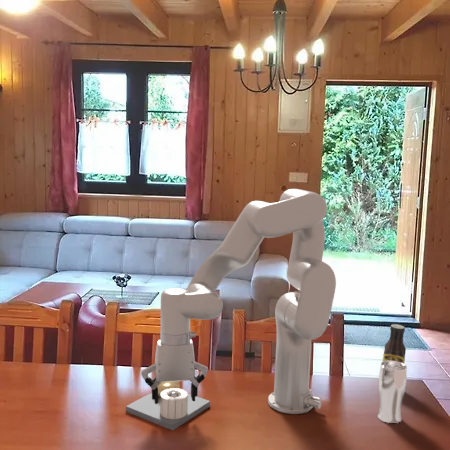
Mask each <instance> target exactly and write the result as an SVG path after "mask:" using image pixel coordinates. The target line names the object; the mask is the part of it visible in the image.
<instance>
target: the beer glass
mask: <svg viewBox="0 0 450 450" xmlns="http://www.w3.org/2000/svg"><path fill="white" fill-rule="evenodd" d="M407 368H408V367H407V365H406V364H405V363H404V364H403V363H401V362H398V361H393V360H386V361H383V360H382V361H381V362H380V368H379V373H378V375H379V376H378V391H379V399H380V401H379V403H380V404H379V409H378V413H377V418H378V419H379V420H380V421H381V422H383V423H385V422H386V424H389V423H397V424H399V422H400V423H401V422H402V414H401V413H402V411H401V410H402V409H401V408H402V403H403V399H404V396H405V393H406V388H407V379H408V378H407V376H408V375H407V374H408V373H407V372H408V370H407Z"/></svg>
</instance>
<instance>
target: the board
mask: <svg viewBox="0 0 450 450" xmlns="http://www.w3.org/2000/svg"><path fill="white" fill-rule="evenodd" d="M210 407H211V401H210V400H208V399H205V398H203V397H200V396H198V395H197V396H196V397H195V401H192V398H191V393H188V407H187V415H186V416H184V417H181V418H179V419H168V418H165V417H163V416H161V414H160V399H158V403H157V404H155V399H153V400H152V392H150V393H148V394H146V395H144V396H142V397H140V398H138V399H136V400H134V401H133V402H131V403H129V404H128V405H126V406H125V412H126V413H129V414H131V415H134V416H136V417H137V418H142V419H144V420H146V421H148V422H150V423H153V424H155V425H158V426H161V427H163V428H165V429H168V430H171V431H174V430H176V429H177V428H179V427H180V426H182V425H184V424H185V423H187V422H188V421H190V420H191V419H193V418H194V417H196V416H197V415H199V414H201V413H202V412H203V411H205V410H206V409H208V408H210Z"/></svg>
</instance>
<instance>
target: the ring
mask: <svg viewBox="0 0 450 450" xmlns="http://www.w3.org/2000/svg"><path fill="white" fill-rule="evenodd" d="M172 390H175V391H178V397H169V392H170V391H172ZM188 394H189V393H188V391H186V389H183V388H180V389H179V388H173V389H172V388H170V389H165V390H164V391H162V392H161V394H160V414H161V416H163V417H165V418H168V419H179V418H181V417H184V416H186V415H187V407H188Z"/></svg>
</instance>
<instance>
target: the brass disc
mask: <svg viewBox="0 0 450 450" xmlns="http://www.w3.org/2000/svg"><path fill="white" fill-rule="evenodd" d="M180 386H181V385H180V381H173V382H161V383H160V384H159V385H158V386H157V387H158V399H160V394H161V392H162V391H164V390H165V389H170V388H172V389H173V388H179V389H181V388H180Z"/></svg>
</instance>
